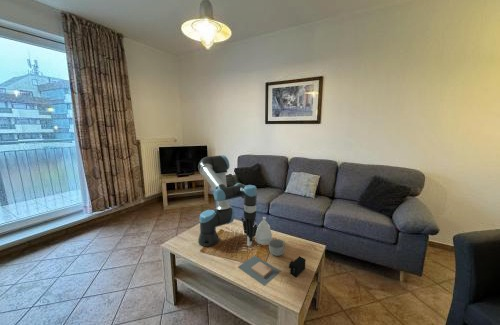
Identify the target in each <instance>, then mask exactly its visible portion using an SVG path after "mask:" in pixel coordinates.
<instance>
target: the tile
mask: <svg viewBox="0 0 500 325" xmlns="http://www.w3.org/2000/svg"><path fill="white" fill-rule="evenodd" d="M251 270H252V271H254V272H255V273H257V274H258V275H260V276H261V277H263V278H264V277H266V276H267V275H268V274H269V273H270V272H272V268H270V267H268V266H267V265H265V264H263V263H262V262H258V263H257V264H255V265H254V266H253V267H251Z"/></svg>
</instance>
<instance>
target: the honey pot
mask: <svg viewBox="0 0 500 325" xmlns="http://www.w3.org/2000/svg"><path fill="white" fill-rule="evenodd" d="M266 220H267V217H266V216H262V220H261V221H260V223H258V224H259V226H258V227H257V231H256V235H255V236H254V237H255V243H256V242H257V243H256V244H258V245H260V244H261V245H260V246H267V245H268V246H269V241H271V240H273V233H272V230H271V226H270V224H269V223H268V221H266Z"/></svg>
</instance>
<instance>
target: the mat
mask: <svg viewBox="0 0 500 325" xmlns="http://www.w3.org/2000/svg"><path fill="white" fill-rule="evenodd" d="M258 262H262V263H263V264H265V265H267V266H268V267H270V268H272V272H270V273H269V274H268V275H267V276H266V277H264V278H263V277H261V276H260V275H258V274H257V273H255V272H254V271H252V270H251V267H253V266H254V265H255V264H257V263H258ZM237 268H238V269H239V270H241V271H242V272H243V273H245V274H247V275H248V276H250V277H251V278H253V279H254V280H255V281H256V282H258V283H259V284H260V285H262V286H267V284H268V283H270V282H271V281H272V280H273V279H275V278H276V276H278V275H279V274H280V273H281V272H282V270H280V269H278V268H277V267H275V266H273V265H271V264H270V263H268V262H266V261H265V260H263V259H261V258H260V257H258V256H256V255H253V256H251V257H250V258H249V259H247V260H246V261H245V262H243V263H242V264H240V265H238V266H237Z"/></svg>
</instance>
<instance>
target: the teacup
mask: <svg viewBox="0 0 500 325" xmlns="http://www.w3.org/2000/svg"><path fill="white" fill-rule="evenodd" d="M268 249H269V253H270V254H271V255H273V256H275V257H280V256H282V255H284V253H285V242H284V240H283V239H280V238H279V239H278V238H277V237H274V238H272V240H271V241H269V244H268Z"/></svg>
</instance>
